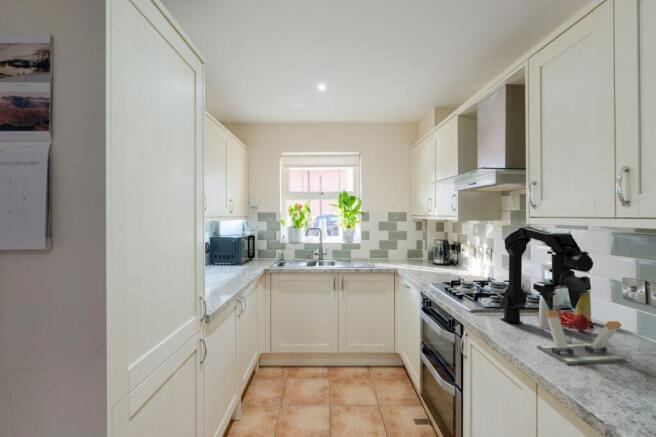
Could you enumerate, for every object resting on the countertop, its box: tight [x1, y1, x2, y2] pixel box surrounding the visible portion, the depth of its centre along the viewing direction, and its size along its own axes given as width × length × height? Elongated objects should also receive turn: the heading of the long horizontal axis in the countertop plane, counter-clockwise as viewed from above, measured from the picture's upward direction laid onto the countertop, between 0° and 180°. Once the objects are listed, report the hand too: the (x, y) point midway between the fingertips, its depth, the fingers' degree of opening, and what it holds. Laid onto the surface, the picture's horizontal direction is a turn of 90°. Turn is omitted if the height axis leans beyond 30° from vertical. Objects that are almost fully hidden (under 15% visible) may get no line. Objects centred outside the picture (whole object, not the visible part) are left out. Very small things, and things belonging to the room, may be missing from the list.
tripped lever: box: [545, 311, 568, 352], centre depth 114 cm, size 2×4×14 cm, turn 96°
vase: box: [573, 290, 592, 322], centre depth 146 cm, size 6×6×14 cm
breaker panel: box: [536, 342, 627, 365], centre depth 113 cm, size 13×22×2 cm, turn 96°
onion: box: [571, 313, 590, 332], centre depth 134 cm, size 6×6×8 cm
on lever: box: [590, 320, 622, 350], centre depth 110 cm, size 2×4×14 cm
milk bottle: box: [538, 280, 562, 330], centre depth 138 cm, size 8×8×20 cm
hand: (562, 309), depth 117 cm, fingers open, 9 cm apart
